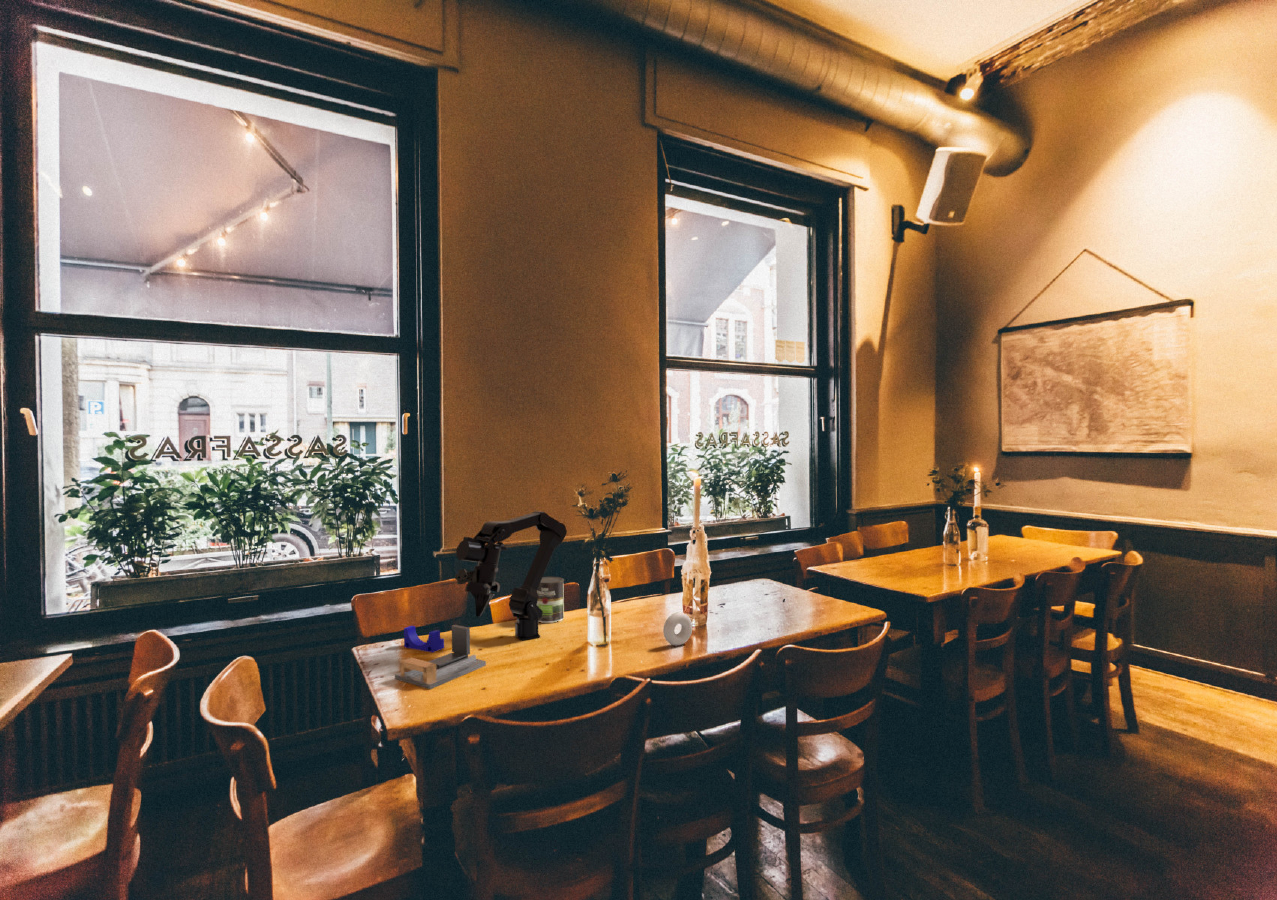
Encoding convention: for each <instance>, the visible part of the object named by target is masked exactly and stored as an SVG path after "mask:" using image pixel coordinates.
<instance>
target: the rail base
mask: <svg viewBox="0 0 1277 900" xmlns="http://www.w3.org/2000/svg"><path fill="white" fill-rule="evenodd" d="M451 653H452V652H450V653H447V654H444V655H441V656H440V657H443V656H446V655H448V654H451ZM440 657H437V658H434V659H431V660H429V661H426V660H422V659H419V658H414V657H407V658H404V659H402V660H400V662H399V663H400V672H397V673H394V680H397V681H401V682H405V683H408V684H411V685H414V686H416V687H417V686H418V687H421V688H424V689H428V690H433V689H435V688H437V687H439V686H441V685H444V684H446V683H448V682H450V681H453V680H455V679H457V678H460V677H462V676H465V675H467V674H469V673H471V672H474V671H476V670H478V669H480V668H483V667H485V666H486V664H487V661H486V660H483V659H479V658H477V655H476V654H472V655H470V656H469V655H468V657H467V658H464V659H462V660H459V661H457V662H454V663H452V664H449V665H447V666H444V667H442V668H439V669H437V670H436V664H434V663H430V661H433V660H435V659H438V658H440ZM434 687H435V688H434Z"/></svg>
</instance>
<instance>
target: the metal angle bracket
mask: <svg viewBox="0 0 1277 900" xmlns="http://www.w3.org/2000/svg"><path fill="white" fill-rule="evenodd" d="M470 629H471V628H470V627H469V626H468V627H467V626H463V625H457V624H453V625H451V652H450V653H451V654H449V653H447V654H448V655H447V654H445V655H446V656H444V655H442V656H443V657H442V656H440V658H439V657H437V658H438V659H436V658H434V659H435V660H434V659H432V660H433V661H431V660H429V661H430V663H434V664H436V670H437V669H439V668H442V667H444V666H447V665H449V664H452V663H454V662H457V661H459V660H462V659H464V658H467V657H469V655H471V640H470V639H471V637H470V636H471V635H470V633H471V630H470Z"/></svg>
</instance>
